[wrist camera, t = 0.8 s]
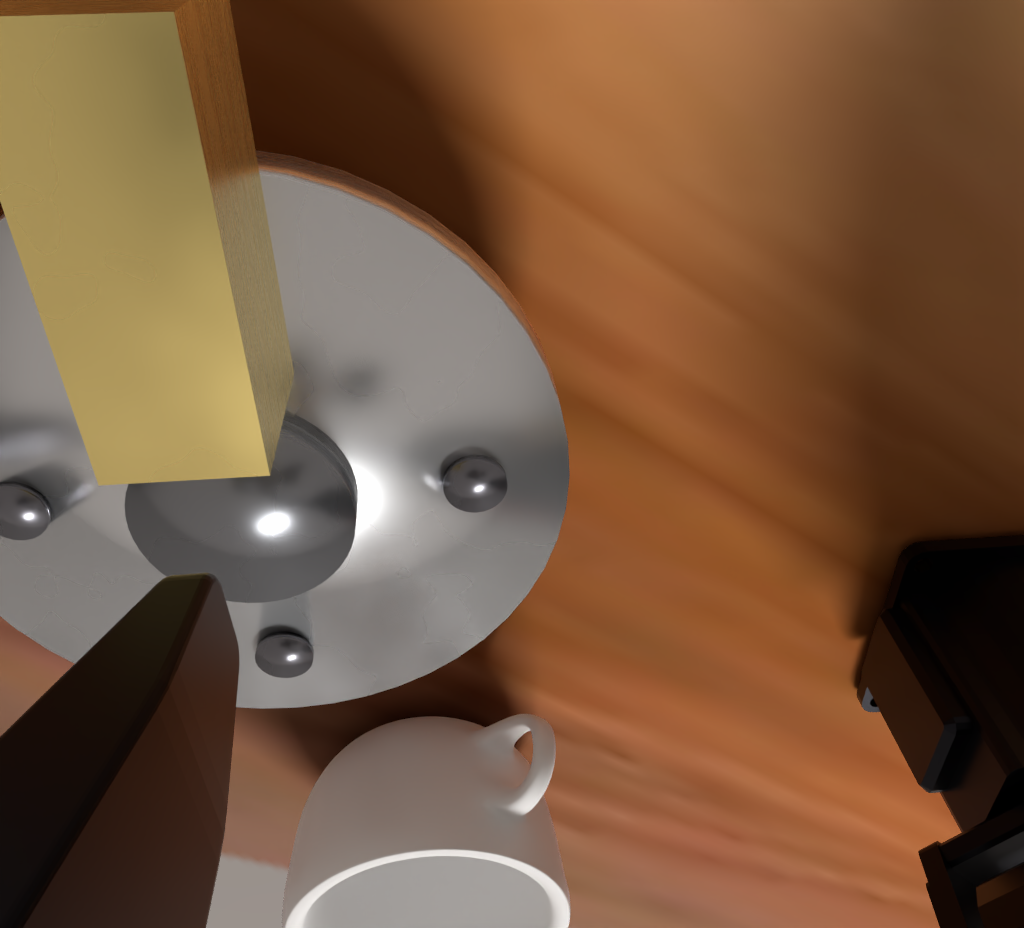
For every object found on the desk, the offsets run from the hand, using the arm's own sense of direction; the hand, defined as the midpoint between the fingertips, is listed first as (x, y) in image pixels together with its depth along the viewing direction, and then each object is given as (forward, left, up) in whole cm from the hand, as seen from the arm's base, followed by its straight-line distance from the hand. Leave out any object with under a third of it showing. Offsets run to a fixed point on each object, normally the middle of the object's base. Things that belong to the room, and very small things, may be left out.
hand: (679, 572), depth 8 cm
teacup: (+3, +18, -12) cm, 22 cm away
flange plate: (+6, +3, -9) cm, 11 cm away
